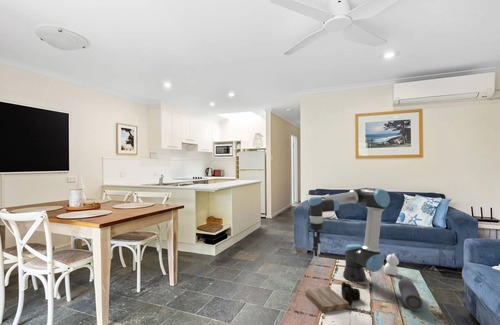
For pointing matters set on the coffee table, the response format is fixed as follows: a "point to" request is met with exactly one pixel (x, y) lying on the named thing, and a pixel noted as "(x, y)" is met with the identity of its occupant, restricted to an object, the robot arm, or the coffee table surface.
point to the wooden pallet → (327, 299)
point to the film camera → (349, 293)
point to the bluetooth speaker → (410, 294)
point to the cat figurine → (391, 265)
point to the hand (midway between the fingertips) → (317, 257)
